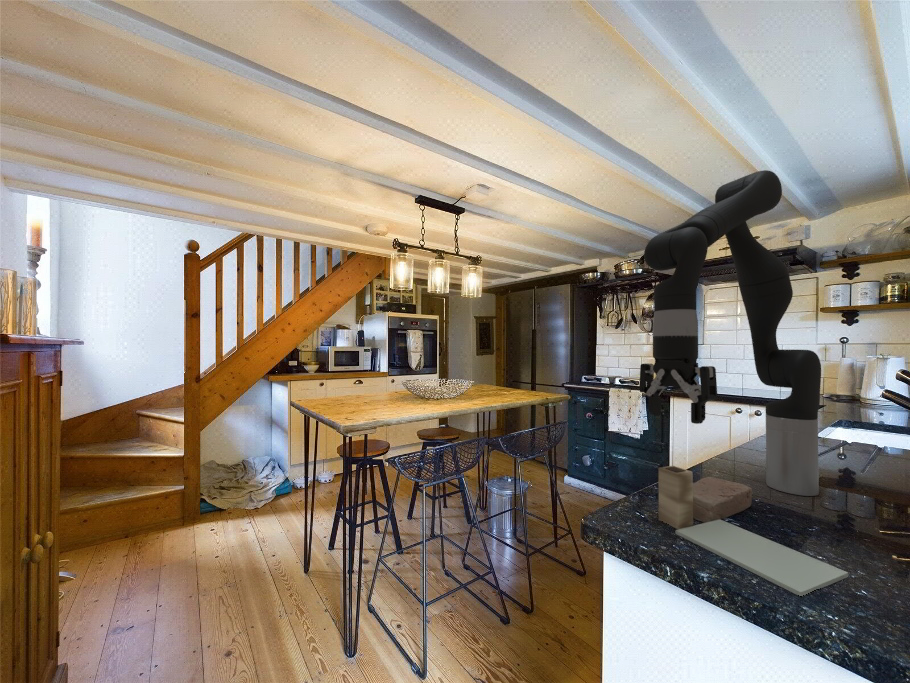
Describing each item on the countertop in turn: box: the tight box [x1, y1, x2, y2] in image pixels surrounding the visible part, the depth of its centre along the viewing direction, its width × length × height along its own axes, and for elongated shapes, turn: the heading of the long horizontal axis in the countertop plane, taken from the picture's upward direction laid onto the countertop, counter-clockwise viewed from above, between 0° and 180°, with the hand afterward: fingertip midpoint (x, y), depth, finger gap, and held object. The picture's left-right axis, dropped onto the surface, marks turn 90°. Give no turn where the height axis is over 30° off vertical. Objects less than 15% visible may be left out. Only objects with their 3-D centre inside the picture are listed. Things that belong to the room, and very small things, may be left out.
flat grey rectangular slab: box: [675, 519, 849, 597], centre depth 60 cm, size 12×18×1 cm, turn 22°
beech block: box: [658, 465, 694, 530], centre depth 70 cm, size 4×4×10 cm
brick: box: [693, 476, 753, 523], centre depth 77 cm, size 17×8×5 cm, turn 119°
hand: (675, 419), depth 70 cm, fingers open, 8 cm apart
